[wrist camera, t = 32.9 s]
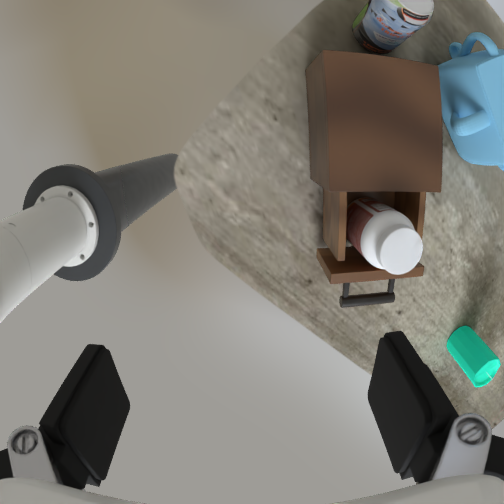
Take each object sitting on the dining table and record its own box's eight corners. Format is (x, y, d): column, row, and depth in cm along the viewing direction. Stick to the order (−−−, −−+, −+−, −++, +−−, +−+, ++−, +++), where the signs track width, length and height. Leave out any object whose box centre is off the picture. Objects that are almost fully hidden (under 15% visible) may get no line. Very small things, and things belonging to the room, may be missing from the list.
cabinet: (402, 178, 37) (441, 192, 28) (310, 178, 37) (329, 192, 28) (399, 77, 33) (438, 65, 24) (305, 69, 33) (322, 49, 24)
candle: (454, 356, 48) (484, 396, 37) (441, 344, 47) (473, 387, 36) (475, 333, 47) (509, 371, 36) (463, 320, 45) (499, 359, 34)
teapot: (401, 123, 35) (463, 124, 22) (434, 29, 29) (492, 5, 17) (488, 185, 37) (549, 207, 25) (515, 98, 32) (574, 101, 19)
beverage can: (349, 51, 32) (388, 22, 20) (348, 3, 29) (382, -36, 18) (395, 61, 32) (444, 40, 21) (392, 14, 29) (436, -17, 18)
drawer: (392, 283, 42) (416, 311, 34) (315, 290, 42) (328, 321, 34) (402, 159, 36) (433, 166, 28) (316, 158, 36) (332, 163, 28)
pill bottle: (353, 253, 39) (386, 294, 28) (331, 212, 37) (361, 243, 27) (393, 228, 38) (437, 260, 27) (373, 186, 36) (416, 207, 25)
